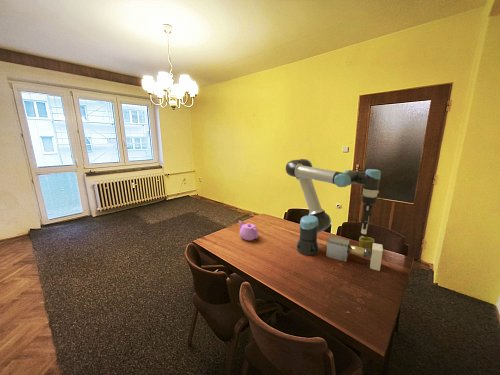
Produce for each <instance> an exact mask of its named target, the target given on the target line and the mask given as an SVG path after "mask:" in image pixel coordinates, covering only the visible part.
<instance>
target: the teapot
mask: <svg viewBox="0 0 500 375" xmlns="http://www.w3.org/2000/svg"><path fill="white" fill-rule="evenodd" d="M238 223H239V236H240V238H241V239H242V240H244V241H253V240H255V239H258V236H259V232H258V231H259V230H258V228H257V226H256V225H255V224H253V223H250V222H248V223H244V224H243V223H242V221H241V220H238Z"/></svg>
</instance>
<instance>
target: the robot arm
mask: <svg viewBox="0 0 500 375" xmlns="http://www.w3.org/2000/svg"><path fill="white" fill-rule="evenodd" d="M285 173H286V174H287V175H288V176H290V177H292V178H293V177H294V178H296V180H297V181H299V184H300V187H301V190H302V192H303V196H304V198H305V202H306V205H307V207H308V211H309V213H308V215H304V216H302V217H301V218H300V221H299V238H298V240H297V243H296V251H297V252H298V253H300V254H302V255H305V256H315V255H317V254H319V253H320V246H319V243H318V234H319V233H321V232H324V231H325V230H327V229H328V228H329V227H330V226H331V224H332V223H331V222H332V219H331V217H330V215H329V213H327V212H326V211H325V210H324V208H322V206H321V202H320V200H319V197H318V194H317V191H316V189H315V185H314V183H313V180H314V181H319V182H322V183H323V182H324V183H328V184H331V185H336V187H338V188H346V187H348V186H350V185H351V186H352V185H354V184H356V185H363V188H362V195H361V202H362V203H364V205H363V206H364V207H363V208H364V209H363V220H362V221H361V222H360V223H361V224H362V225H361V230H360V233H361V234H362V235H367V231H368V227H369V221H370V216H371V215H372V214H371V211H372V208H373V205H374V204H375V205H376V203H377V201H378V198H377V197H378V194H380V191H379V188H380V182H381V175H382V171H381V170H379V169H374V168H373V169H372V168H368V169H366V170H365V171H357V170H353V169H346V170H345V171H344V172H341V171H337V170H331V169H324V168H320V167H313V164H312V162H311V161H310V160H309V159H305V158H300V159H293V160H292V159H291V160H290V161H288V162H287V163H286V165H285Z"/></svg>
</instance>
